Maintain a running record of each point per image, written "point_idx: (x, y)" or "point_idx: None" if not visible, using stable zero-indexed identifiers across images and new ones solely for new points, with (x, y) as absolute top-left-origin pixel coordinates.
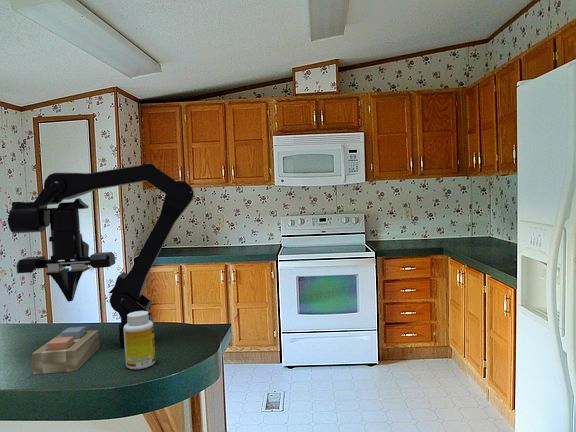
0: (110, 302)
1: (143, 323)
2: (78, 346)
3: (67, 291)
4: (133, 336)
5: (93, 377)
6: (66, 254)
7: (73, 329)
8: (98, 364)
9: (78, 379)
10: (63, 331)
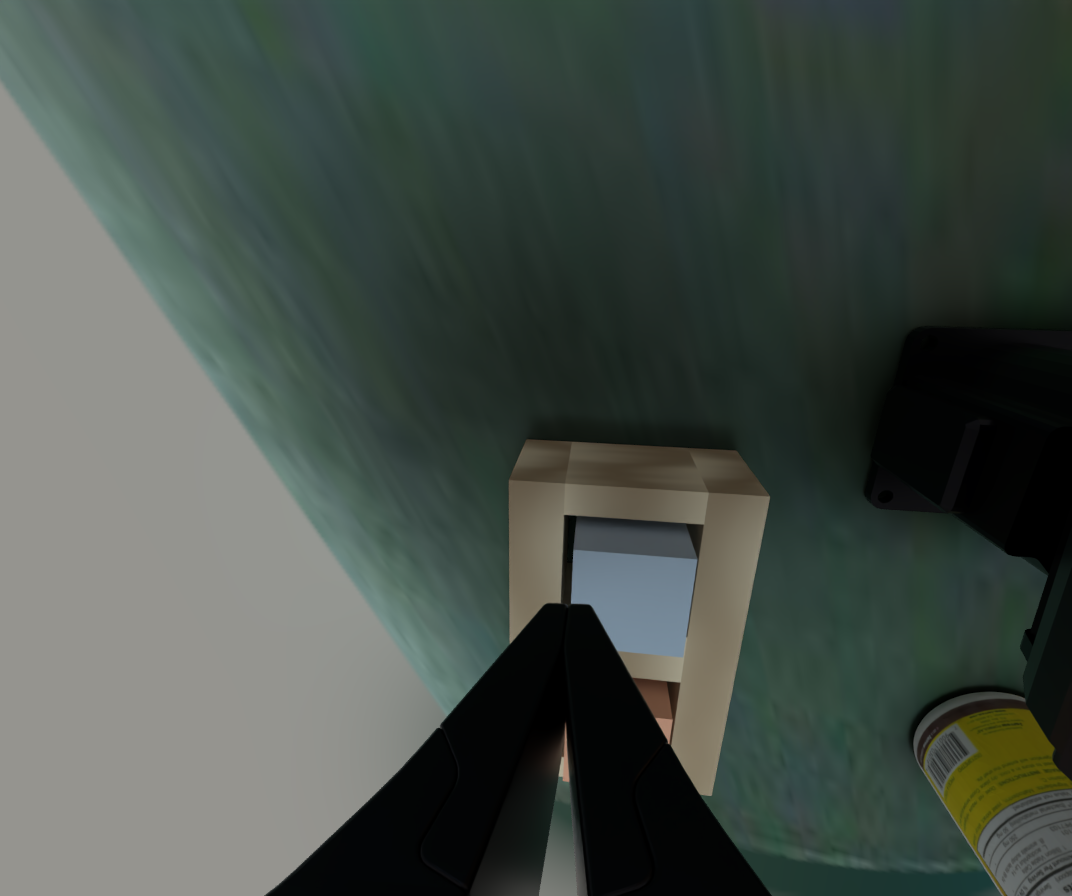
0: (1062, 770)
1: None
2: (713, 753)
3: (554, 790)
4: None
5: (778, 780)
6: None
7: (629, 605)
8: (774, 672)
9: (723, 778)
10: None
